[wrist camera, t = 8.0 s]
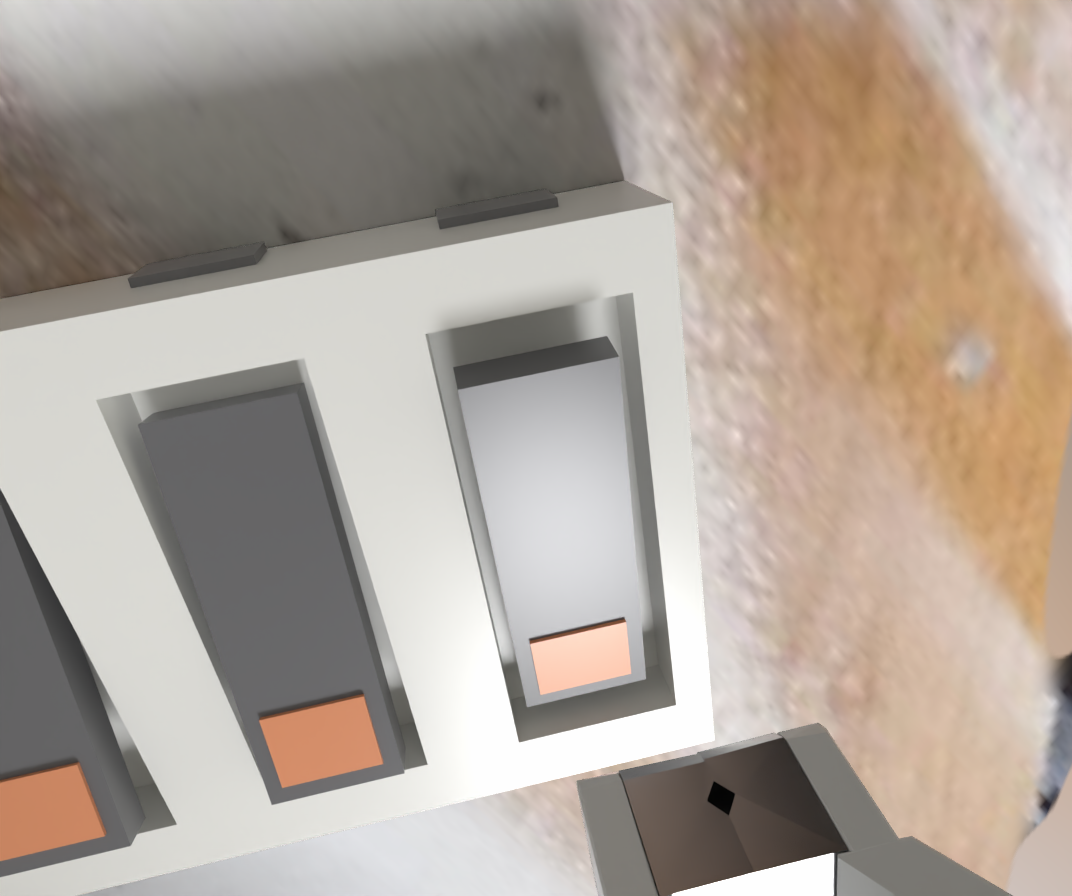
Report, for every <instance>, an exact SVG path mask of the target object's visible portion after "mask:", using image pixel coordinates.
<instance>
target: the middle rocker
mask: <svg viewBox="0 0 1072 896" xmlns="http://www.w3.org/2000/svg"><path fill="white" fill-rule="evenodd" d="M138 427H139V430H140V433H141V436H142V438H143V441H144V444H145V447H146V450H147V453H148V455H149V458H150V461H151V464H152V467H153V470H154V472H155V475H156V478H157V481H158V484H159V487H160V489H161V492H162V495H163V498H164V501H165V504H166V506H167V509H168V512H169V515H170V518H171V521H172V524H173V526H174V529H175V532H176V535H177V538H178V541H179V543H180V546H181V549H182V552H183V555H184V558H185V560H186V563H187V566H188V569H189V572H190V575H191V577H192V580H193V583H194V586H195V589H196V592H197V594H198V597H199V600H200V603H201V606H202V609H203V611H204V614H205V617H206V620H207V623H208V626H209V628H210V631H211V634H212V637H213V640H214V643H215V645H216V648H217V651H218V654H219V657H220V660H221V662H222V665H223V668H224V671H225V674H226V677H227V680H228V682H229V685H230V688H231V691H232V694H233V697H234V699H235V702H236V705H237V708H238V711H239V714H240V716H241V719H242V722H243V725H244V728H245V731H246V733H247V736H248V739H249V742H250V745H251V748H252V750H253V753H254V756H255V759H256V762H257V765H258V767H259V770H260V773H261V776H262V779H263V782H264V784H265V787H266V790H267V793H268V796H269V799H270V801H271V804H272V805H274V804H279V803H283V802H287V801H291V800H295V799H300V798H304V797H308V796H312V795H316V794H320V793H325V792H329V791H333V790H337V789H341V788H345V787H350V786H354V785H358V784H362V783H366V782H370V781H375V780H379V779H383V778H387V777H391V776H396V775H400V774H404V773H405V749H406V747H405V744H404V740H403V736H402V733H401V729H400V726H399V722H398V718H397V715H396V711H395V708H394V704H393V701H392V697H391V693H390V690H389V686H388V683H387V679H386V675H385V672H384V668H383V665H382V661H381V657H380V654H379V650H378V647H377V643H376V639H375V636H374V632H373V629H372V625H371V621H370V618H369V614H368V611H367V607H366V603H365V600H364V596H363V593H362V589H361V585H360V582H359V578H358V575H357V571H356V568H355V564H354V560H353V557H352V553H351V550H350V546H349V542H348V539H347V535H346V532H345V528H344V524H343V521H342V517H341V514H340V510H339V506H338V503H337V499H336V496H335V492H334V488H333V485H332V481H331V478H330V474H329V470H328V467H327V463H326V460H325V456H324V452H323V449H322V445H321V442H320V438H319V435H318V431H317V427H316V424H315V420H314V417H313V413H312V409H311V406H310V402H309V399H308V395H307V391H306V388H305V384H304V383H299V384H294V385H289V386H284V387H279V388H274V389H269V390H264V391H259V392H254V393H249V394H244V395H239V396H234V397H229V398H224V399H219V400H215V401H210V402H205V403H200V404H195V405H190V406H185V407H180V408H175V409H170V410H165V411H160V412H155V413H153V414H151V415H150V416H149V417H147V418H146V419H145V420H143V421H142V422H141V423H139V424H138Z"/></svg>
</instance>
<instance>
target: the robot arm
mask: <svg viewBox="0 0 1072 896" xmlns="http://www.w3.org/2000/svg"><path fill="white" fill-rule="evenodd" d="M577 791H578V796H579V801H580V807H581V812H582V817H583V823H584V828H585V833H586V839H587V844H588V849H589V854H590V859H591V864H592V868H593V873H594V878H595V883H596V888H597V892H598V896H1012V895H1011V894H1009V893H1007V892H1006V891H1004V890H1002V889H1001V888H999V887H997V886H996V885H994V884H992V883H990V882H989V881H987V880H985V879H984V878H982V877H980V876H979V875H977V874H975V873H974V872H972V871H970V870H968V869H967V868H965V867H963V866H962V865H960V864H958V863H957V862H955V861H953V860H952V859H950V858H948V857H946V856H945V855H943V854H941V853H940V852H938V851H936V850H935V849H933V848H931V847H930V846H928V845H926V844H924V843H923V842H921V841H919V840H918V839H916V838H914V837H913V836H909V837H904V838H900V839H899V838H898V837H897V835H896V834H895V832H894V831H893V829H892V828H891V826H890V825H889V823H888V822H887V820H886V818H885V817H884V815H883V814H882V812H881V811H880V809H879V808H878V806H877V805H876V803H875V802H874V800H873V799H872V797H871V796H870V794H869V793H868V791H867V790H866V788H865V787H864V785H863V784H862V782H861V781H860V779H859V777H858V776H857V774H856V773H855V771H854V770H853V768H852V767H851V765H850V764H849V762H848V761H847V759H846V758H845V756H844V755H843V753H842V752H841V750H840V749H839V747H838V746H837V744H836V743H835V741H834V740H833V738H832V736H831V735H830V733H829V732H828V730H827V729H826V728H825V727H823V726H822V725H821V724H819V723H815V724H811V725H807V726H803V727H799V728H795V729H791V730H786V731H782V732H778V733H777V734H776V733H771V734H767V735H763V736H759V737H755V738H752V739H748V740H744V741H740V742H736V743H732V744H728V745H724V746H721V747H717V748H713V749H709V750H705V751H701V752H697V754H695V755H691V756H686V757H681V758H677V759H672V760H667V761H663V762H658V763H653V764H649V765H644V766H639V767H635V768H630V769H625V770H621V771H619V773H618V772H613V773H609V774H604V775H600V776H595V777H591V778H587V779H582V780H578V781H577Z"/></svg>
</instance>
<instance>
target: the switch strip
mask: <svg viewBox="0 0 1072 896" xmlns="http://www.w3.org/2000/svg"><path fill="white" fill-rule="evenodd" d="M435 212H436V216H435V217H430V218H425V219H420V220H414V221H409V222H404V223H399V224H393V225H388V226H383V227H377V228H372V229H367V230H362V231H356V232H351V233H346V234H340V235H335V236H330V237H325V238H319V239H314V240H309V241H303V242H298V243H293V244H288V245H282V246H277V247H272V248H266V246H265V242H261V243H255V244H250V245H245V246H239V247H234V248H229V249H223V250H218V251H213V252H208V253H202V254H197V255H192V256H186V257H181V258H176V259H170V260H165V261H160V262H155V263H149V264H147V265H145V266H144V267H143V268H141V269H140V270H139V271H137V272H136V273H134V274H129V275H124V276H119V277H113V278H108V279H103V280H97V281H92V282H87V283H82V284H76V285H71V286H66V287H61V288H55V289H50V290H45V291H39V292H34V293H29V294H24V295H18V296H13V297H8V298H2V299H0V489H1V491H2V493H3V495H4V497H5V498H6V500H7V502H8V504H9V506H10V508H11V510H12V512H13V514H14V516H15V517H16V519H17V521H18V523H19V525H20V527H21V529H22V531H23V533H24V535H25V536H26V538H27V540H28V542H29V544H30V546H31V548H32V550H33V552H34V554H35V555H36V557H37V559H38V561H39V563H40V565H41V567H42V569H43V571H44V573H45V574H46V576H47V578H48V580H49V582H50V584H51V586H52V588H53V590H54V592H55V593H56V595H57V597H58V599H59V601H60V603H61V605H62V607H63V609H64V611H65V612H66V614H67V616H68V618H69V620H70V622H71V624H72V626H73V628H74V630H75V631H76V633H77V635H78V637H79V639H80V642H81V645H82V648H83V650H84V653H85V656H86V658H87V661H88V664H89V666H90V669H91V672H92V674H93V677H94V680H95V683H96V685H97V688H98V691H99V693H100V696H101V699H102V701H103V704H104V707H105V710H106V712H107V715H108V718H109V720H110V723H111V726H112V728H113V731H114V734H115V737H116V739H117V742H118V745H119V747H120V750H121V753H122V755H123V758H124V761H125V764H126V766H127V769H128V772H129V774H130V777H131V780H132V782H133V785H134V788H135V791H136V793H137V796H138V799H139V801H140V804H141V807H142V809H143V812H144V815H145V817H146V818H145V820H144V822H143V824H142V825H141V827H140V829H139V831H138V833H137V835H136V837H135V839H134V841H133V843H132V845H131V846H129V847H125V848H121V849H116V850H112V851H108V852H104V853H100V854H96V855H91V856H87V857H83V858H79V859H75V860H71V861H66V862H62V863H58V864H54V865H50V866H46V867H41V868H37V869H33V870H29V871H25V872H21V873H16V874H12V875H8V876H4V877H0V896H78V895H82V894H86V893H90V892H94V891H98V890H102V889H106V888H111V887H115V886H119V885H123V884H127V883H131V882H135V881H139V880H143V879H147V878H152V877H156V876H160V875H164V874H168V873H172V872H176V871H180V870H184V869H189V868H193V867H197V866H201V865H205V864H209V863H213V862H217V861H221V860H226V859H230V858H234V857H238V856H242V855H246V854H250V853H254V852H258V851H262V850H267V849H271V848H275V847H279V846H283V845H287V844H291V843H295V842H299V841H304V840H308V839H312V838H316V837H320V836H324V835H328V834H332V833H336V832H341V831H345V830H349V829H353V828H357V827H361V826H365V825H369V824H373V823H377V822H382V821H386V820H390V819H394V818H398V817H402V816H406V815H410V814H414V813H419V812H423V811H427V810H431V809H435V808H439V807H443V806H447V805H451V804H456V803H460V802H464V801H468V800H472V799H476V798H480V797H484V796H488V795H492V794H497V793H501V792H505V791H509V790H513V789H517V788H521V787H525V786H529V785H534V784H538V783H542V782H546V781H550V780H554V779H558V778H562V777H566V776H571V775H575V774H579V773H583V772H587V771H591V770H595V769H599V768H603V767H607V766H612V765H616V764H620V763H624V762H628V761H632V760H636V759H640V758H644V757H649V756H653V755H657V754H661V753H665V752H669V751H673V750H677V749H681V748H686V747H690V746H694V745H698V744H702V743H706V742H710V741H714V740H715V739H714V727H713V714H712V701H711V688H710V675H709V662H708V650H707V637H706V624H705V611H704V598H703V585H702V573H701V560H700V547H699V534H698V521H697V509H696V496H695V483H694V470H693V457H692V444H691V432H690V419H689V406H688V393H687V380H686V367H685V355H684V342H683V329H682V316H681V303H680V291H679V278H678V265H677V252H676V239H675V226H674V214H673V202H671V201H668V200H666V199H664V198H662V197H660V196H658V195H655V194H653V193H651V192H649V191H647V190H644V189H642V188H640V187H638V186H636V185H634V184H631V183H629V182H627V181H620V182H615V183H610V184H604V185H599V186H594V187H589V188H583V189H578V190H573V191H568V192H562V193H557V194H552V193H551V192H550V191H548V190H547V189H541V190H536V191H531V192H526V193H520V194H515V195H510V196H504V197H499V198H494V199H488V200H483V201H478V202H473V203H467V204H462V205H457V206H451V207H446V208H441V209H435ZM604 336H607V337H608V338H609V340H610V342H611V344H612V345H613V347H614V349H615V350H616V352H617V354H618V355H619V359H620V371H621V383H622V395H623V407H624V419H625V431H626V443H627V455H628V467H629V479H630V491H631V503H632V515H633V527H634V539H635V551H636V563H637V575H638V587H639V599H640V611H641V623H642V635H643V647H644V659H645V671H646V679H645V680H641V681H636V682H632V683H628V684H624V685H620V686H615V687H611V688H607V689H603V690H598V691H594V692H590V693H586V694H581V695H577V696H573V697H569V698H564V699H560V700H556V701H552V702H548V703H543V704H539V705H535V706H531V707H527V704H526V700H525V695H524V691H523V686H522V681H521V677H520V672H519V668H518V663H517V659H516V654H515V650H514V645H513V640H512V636H511V631H510V627H509V622H508V618H507V613H506V609H505V604H504V599H503V595H502V590H501V586H500V581H499V577H498V572H497V567H496V563H495V558H494V554H493V549H492V545H491V540H490V536H489V531H488V526H487V522H486V517H485V513H484V508H483V504H482V499H481V494H480V490H479V485H478V481H477V476H476V472H475V467H474V463H473V458H472V453H471V449H470V444H469V440H468V435H467V431H466V426H465V421H464V417H463V412H462V408H461V403H460V399H459V394H458V389H457V384H456V379H455V374H454V369H453V367H457V366H462V365H466V364H471V363H476V362H481V361H486V360H491V359H496V358H501V357H506V356H511V355H516V354H521V353H525V352H530V351H535V350H540V349H545V348H550V347H555V346H560V345H565V344H570V343H575V342H580V341H584V340H589V339H594V338H599V337H604ZM299 383H304V384H305V388H306V391H307V395H308V399H309V402H310V406H311V409H312V413H313V417H314V420H315V424H316V427H317V431H318V435H319V438H320V442H321V445H322V449H323V452H324V456H325V460H326V463H327V467H328V470H329V474H330V478H331V481H332V485H333V488H334V492H335V496H336V499H337V503H338V506H339V510H340V514H341V517H342V521H343V524H344V528H345V532H346V535H347V539H348V542H349V546H350V550H351V553H352V557H353V560H354V564H355V568H356V571H357V575H358V578H359V582H360V585H361V589H362V593H363V596H364V600H365V603H366V607H367V611H368V614H369V618H370V621H371V625H372V629H373V632H374V636H375V639H376V643H377V647H378V650H379V654H380V657H381V661H382V665H383V668H384V672H385V675H386V679H387V683H388V686H389V690H390V693H391V697H392V701H393V704H394V708H395V711H396V715H397V718H398V722H399V726H400V729H401V733H402V736H403V740H404V744H405V747H406V749H405V773H404V774H400V775H396V776H391V777H387V778H383V779H379V780H375V781H370V782H366V783H362V784H358V785H354V786H350V787H345V788H341V789H337V790H333V791H329V792H325V793H320V794H316V795H312V796H308V797H304V798H300V799H295V800H291V801H287V802H283V803H279V804H274V805H272V804H271V801H270V799H269V796H268V793H267V790H266V787H265V784H264V782H263V779H262V776H261V773H260V770H259V767H258V765H257V762H256V759H255V756H254V753H253V750H252V748H251V745H250V742H249V739H248V736H247V733H246V731H245V728H244V725H243V722H242V719H241V716H240V714H239V711H238V708H237V705H236V702H235V699H234V697H233V694H232V691H231V688H230V685H229V682H228V680H227V677H226V674H225V671H224V668H223V665H222V662H221V660H220V657H219V654H218V651H217V648H216V645H215V643H214V640H213V637H212V634H211V631H210V628H209V626H208V623H207V620H206V617H205V614H204V611H203V609H202V606H201V603H200V600H199V597H198V594H197V592H196V589H195V586H194V583H193V580H192V577H191V575H190V572H189V569H188V566H187V563H186V560H185V558H184V555H183V552H182V549H181V546H180V543H179V541H178V538H177V535H176V532H175V529H174V526H173V524H172V521H171V518H170V515H169V512H168V509H167V506H166V504H165V501H164V498H163V495H162V492H161V489H160V487H159V484H158V481H157V478H156V475H155V472H154V470H153V467H152V464H151V461H150V458H149V455H148V453H147V450H146V447H145V444H144V441H143V438H142V436H141V433H140V430H139V427H138V424H139V423H141V422H142V421H143V420H145V419H146V418H147V417H149V416H150V415H151V414H153V413H155V412H160V411H165V410H170V409H175V408H180V407H185V406H190V405H195V404H200V403H205V402H210V401H215V400H219V399H224V398H229V397H234V396H239V395H244V394H249V393H254V392H259V391H264V390H269V389H274V388H279V387H284V386H289V385H294V384H299Z"/></svg>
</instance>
